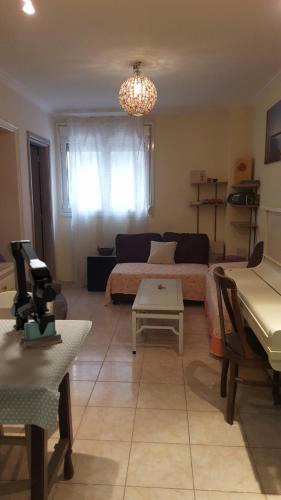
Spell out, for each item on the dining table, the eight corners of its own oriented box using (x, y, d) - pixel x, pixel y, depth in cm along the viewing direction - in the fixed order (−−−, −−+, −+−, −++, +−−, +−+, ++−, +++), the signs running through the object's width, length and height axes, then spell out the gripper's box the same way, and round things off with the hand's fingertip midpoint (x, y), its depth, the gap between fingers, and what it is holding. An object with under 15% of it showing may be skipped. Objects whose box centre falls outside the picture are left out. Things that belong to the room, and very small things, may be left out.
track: (19, 342, 150) (19, 336, 150) (54, 335, 159) (54, 328, 158) (26, 350, 143) (25, 343, 142) (62, 342, 151) (62, 335, 151)
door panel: (53, 333, 155) (53, 317, 154) (55, 335, 153) (55, 319, 152) (24, 339, 148) (24, 323, 147) (26, 341, 146) (26, 324, 145)
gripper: (12, 294, 151) (14, 330, 153) (26, 305, 136) (28, 345, 138) (39, 290, 157) (40, 325, 160) (55, 300, 142) (56, 339, 144)
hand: (40, 333), depth 150 cm, fingers closed on door panel, 2 cm apart
